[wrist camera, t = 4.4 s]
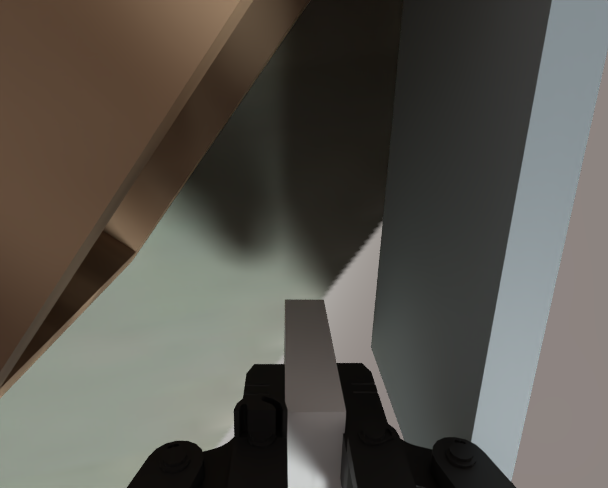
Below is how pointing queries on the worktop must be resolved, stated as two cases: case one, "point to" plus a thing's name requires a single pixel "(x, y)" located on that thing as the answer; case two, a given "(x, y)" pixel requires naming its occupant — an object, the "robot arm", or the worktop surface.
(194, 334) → the worktop surface
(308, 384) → the robot arm
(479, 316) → the cabinet door
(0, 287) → the cabinet
